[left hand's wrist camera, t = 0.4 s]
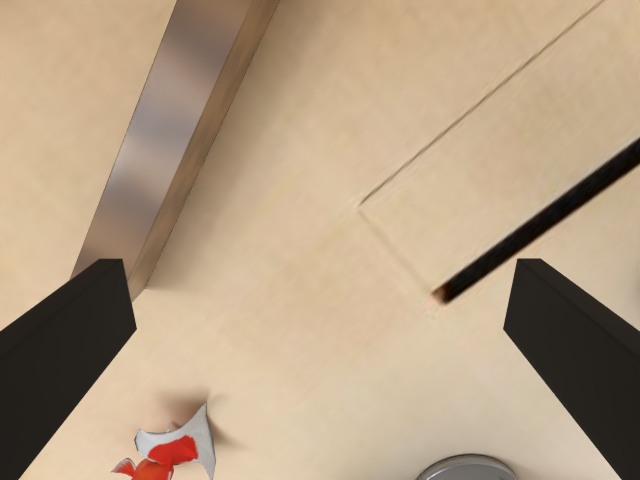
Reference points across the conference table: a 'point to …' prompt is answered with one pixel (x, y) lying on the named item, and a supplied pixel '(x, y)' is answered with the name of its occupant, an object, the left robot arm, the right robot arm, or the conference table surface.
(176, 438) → the fish
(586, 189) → the conference table surface
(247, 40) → the beam
